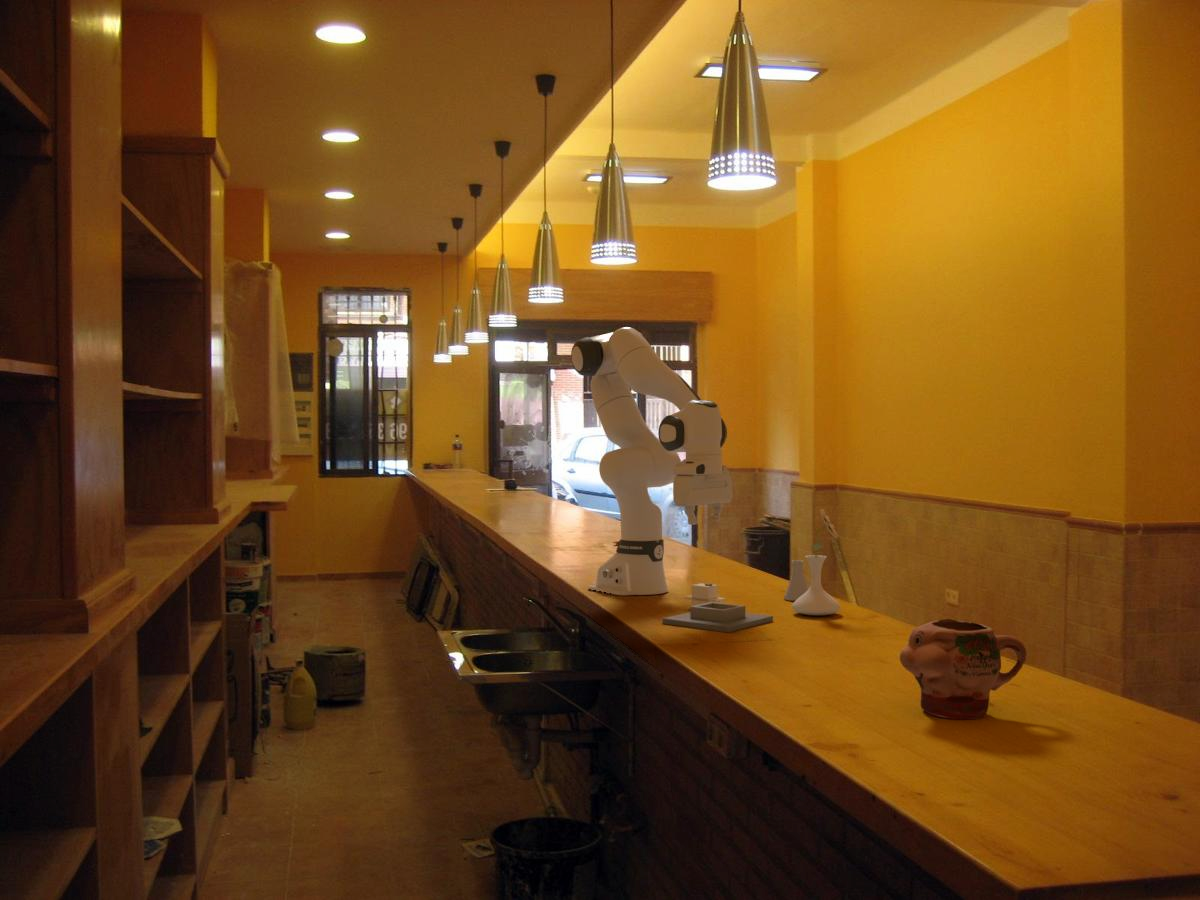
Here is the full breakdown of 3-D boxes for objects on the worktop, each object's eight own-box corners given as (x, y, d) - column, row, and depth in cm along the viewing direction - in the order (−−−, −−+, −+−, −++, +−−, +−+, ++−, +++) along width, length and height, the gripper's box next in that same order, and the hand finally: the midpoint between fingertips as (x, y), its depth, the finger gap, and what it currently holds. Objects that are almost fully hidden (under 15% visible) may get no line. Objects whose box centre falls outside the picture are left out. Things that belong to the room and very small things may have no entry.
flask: (814, 602, 289) (814, 562, 289) (785, 602, 289) (785, 562, 289) (809, 597, 296) (809, 559, 296) (781, 597, 296) (781, 559, 296)
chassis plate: (662, 623, 260) (662, 607, 259) (708, 613, 273) (708, 597, 273) (728, 632, 248) (728, 615, 248) (772, 621, 261) (772, 605, 261)
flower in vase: (827, 620, 262) (827, 511, 262) (783, 615, 269) (782, 509, 268) (851, 612, 273) (851, 508, 272) (808, 608, 279) (808, 506, 279)
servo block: (684, 608, 280) (684, 582, 280) (693, 606, 283) (693, 580, 283) (715, 612, 274) (715, 586, 274) (725, 610, 277) (725, 584, 277)
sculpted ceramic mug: (1003, 699, 187) (1003, 615, 186) (1043, 719, 175) (1043, 628, 174) (887, 705, 184) (887, 619, 183) (920, 725, 171) (920, 633, 171)
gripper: (717, 464, 288) (718, 519, 288) (668, 467, 272) (668, 525, 273) (738, 465, 284) (738, 520, 284) (689, 468, 268) (690, 526, 269)
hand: (704, 523), depth 278 cm, fingers open, 8 cm apart
